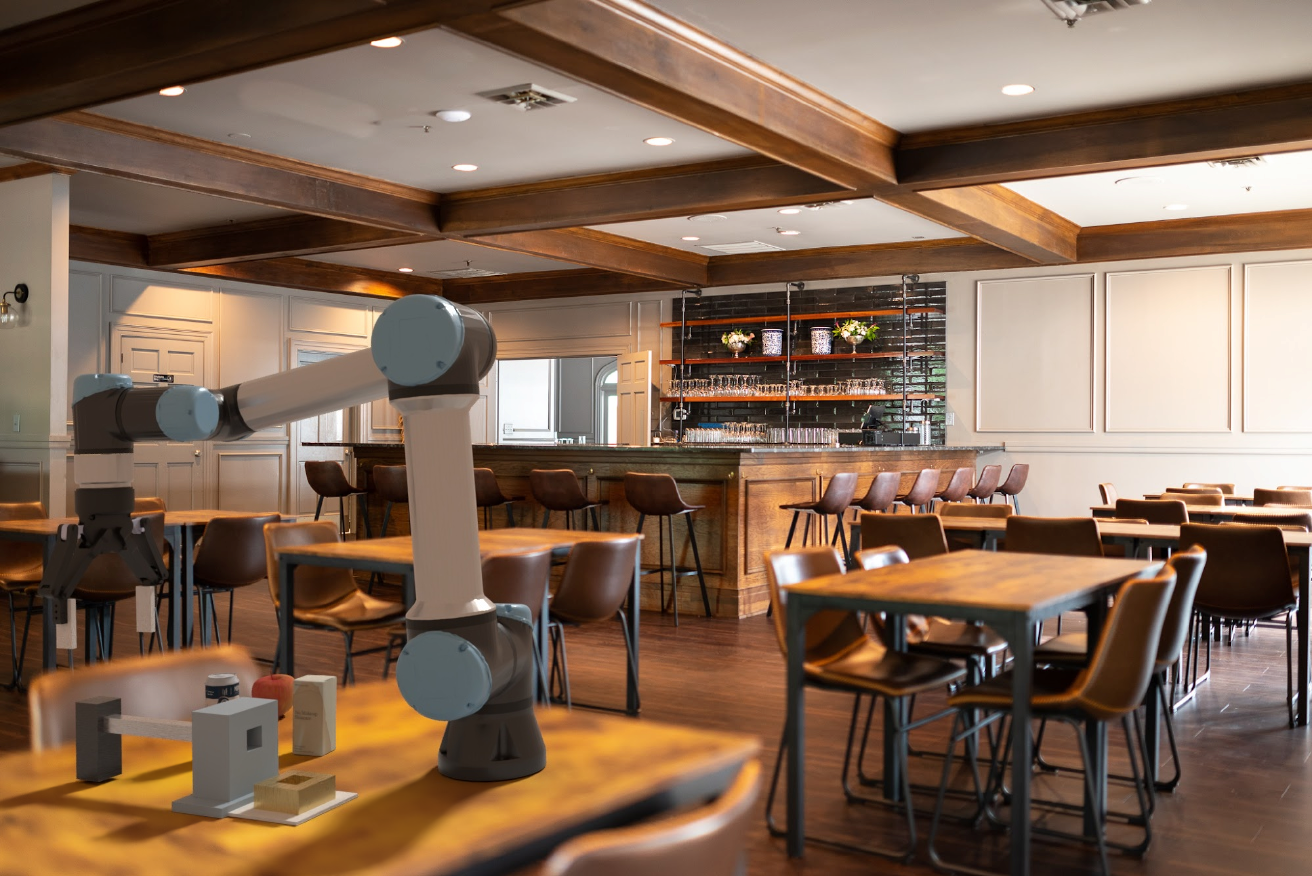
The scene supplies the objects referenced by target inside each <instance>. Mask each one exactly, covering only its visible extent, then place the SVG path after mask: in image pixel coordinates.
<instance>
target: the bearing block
mask: <svg viewBox="0 0 1312 876" xmlns="http://www.w3.org/2000/svg"><path fill="white" fill-rule="evenodd" d="M191 722H192V742H191V751H192V752H191V756H192V757H191V759H192V761H191V762H192V763H191V764H192V765H191V767H192V773H191V774H192V793H190V794H188V795H186V796H182V797H181V798H178V799H175V800H173V801H171V812H173V813H180V814H181V813H182V814H189V815H194V816H201V817H210V818H216V819H217V818H218V819H225V818H226V817H229V816H228V812H231V811H233V810H235V809H238V808H240V807H243V806H245V805H247V804H250V803H252V802H254V784H256V783H259V782H262V781H264V780H267V779H269V778H272V777H274V776H277V775H279V773H280V771H279V768H280V767H279V757H280V756H279V717H278V700H273V699H262V698H252V696H251V697H249V696H248V697H247V696H239V698H236V699H232V700H229V701H226V702H222V703H219V704H216V705H212V706H209V707H206V708H205V707H203V708H199V709H196V710H192V711H191Z"/></svg>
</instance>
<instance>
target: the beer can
mask: <svg viewBox="0 0 1312 876" xmlns="http://www.w3.org/2000/svg"><path fill="white" fill-rule="evenodd" d="M204 686H205V687H204V688H205V689H204V691H205V692H204V693H205V695H204V696H205V697H204V698H205V699H204V700H205V702H204V703H205V704H204V705H205V706H204V708H206V707H209V706H212V705H216V704H219V703H222V702H226V701H229V700H232V699H236V698H239V697H240V679H239V678H238V677H237V674H236V673H234V672H217V673H213V674H210V675H208V676H207V678H206V681H205V682H204Z"/></svg>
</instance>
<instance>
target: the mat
mask: <svg viewBox="0 0 1312 876" xmlns="http://www.w3.org/2000/svg"><path fill="white" fill-rule="evenodd" d="M358 797H359V793H357V792H348V791H341V790H336V799H334V800H331V801H329V802H327V803H325V804H323V805H320V806H318V807H316V808H314V809H311V810H309V811H307V812H305V813H302V814H300V815H294V814H287V813H280V812H273V811H266V810H259V809H254V802H252V803H250V804H247V805H245V806H243V807H240V808H238V809H235V810H233V811H231V812H228V816H227V817H233V818H240V819H246V820H247V819H248V820H255V821H262V822H270V823H276V824H283V825H289V826H299V825H301V824H303V823H305V822H307V821H309V820H311V819H314V818H316V817H318V816H320V815H322V814H324V813H327V812H328V811H330V810H331V811H332V810H333V809H335V808H337V807H339V806H341V805H343V804H345V803H347V802H349V801H352V800H353V799H356V798H358Z"/></svg>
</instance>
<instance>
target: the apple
mask: <svg viewBox="0 0 1312 876" xmlns="http://www.w3.org/2000/svg"><path fill="white" fill-rule="evenodd" d="M269 672H270V674H269V675H265V676H263V677H260V678H258V679H257V680H255V681H254V682H253V684H252V686H251V694H250V695H251V698H262V699H273V700H278V718H280V717H281V716H283V715H284V714H286V713H287V712H289V711H290V710H291V709H293V680H295V679H296V678H294V677H293V676H291V675H288V674H282V673H281V674H273V670H270V671H269Z"/></svg>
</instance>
